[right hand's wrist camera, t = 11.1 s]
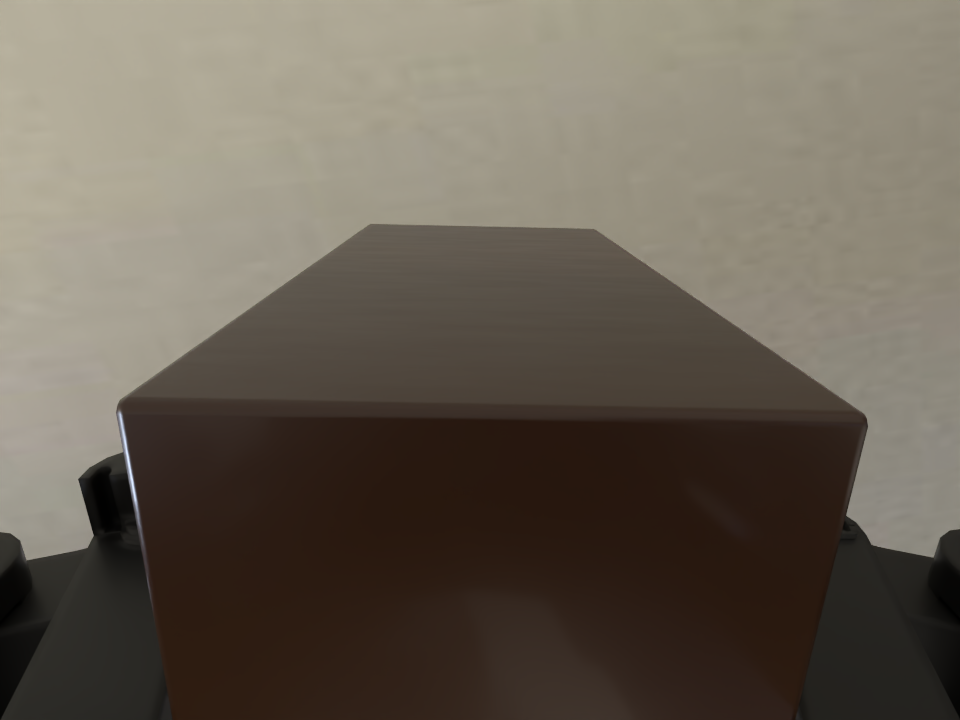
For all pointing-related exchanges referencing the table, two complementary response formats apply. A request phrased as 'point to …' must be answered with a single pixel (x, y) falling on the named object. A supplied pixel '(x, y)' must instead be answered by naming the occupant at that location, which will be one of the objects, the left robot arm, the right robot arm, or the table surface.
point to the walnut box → (486, 493)
